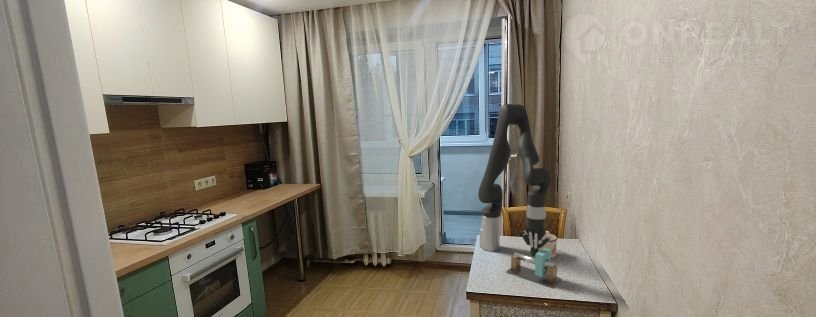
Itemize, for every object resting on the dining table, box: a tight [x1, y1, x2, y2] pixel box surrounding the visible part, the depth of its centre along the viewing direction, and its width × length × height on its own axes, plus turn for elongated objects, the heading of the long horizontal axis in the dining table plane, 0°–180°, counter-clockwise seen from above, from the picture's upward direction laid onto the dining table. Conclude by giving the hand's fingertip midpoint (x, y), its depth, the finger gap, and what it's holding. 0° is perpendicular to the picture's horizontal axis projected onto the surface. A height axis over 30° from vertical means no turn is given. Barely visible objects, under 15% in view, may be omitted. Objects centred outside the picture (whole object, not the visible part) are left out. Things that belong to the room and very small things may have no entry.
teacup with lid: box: [539, 230, 558, 259], centre depth 176 cm, size 12×9×12 cm
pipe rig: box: [506, 252, 562, 289], centre depth 153 cm, size 20×9×8 cm, turn 45°
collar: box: [534, 248, 552, 277], centre depth 149 cm, size 3×8×9 cm, turn 135°
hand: (534, 255), depth 151 cm, fingers closed
